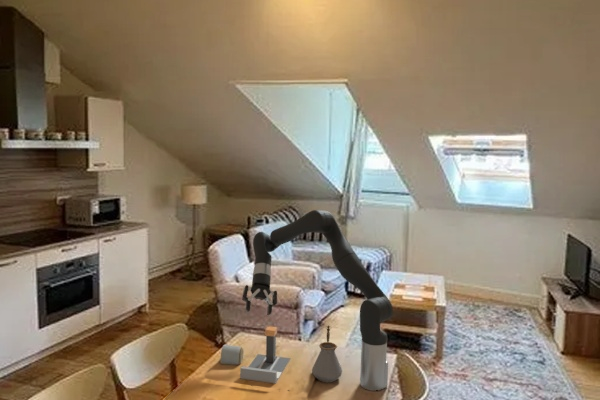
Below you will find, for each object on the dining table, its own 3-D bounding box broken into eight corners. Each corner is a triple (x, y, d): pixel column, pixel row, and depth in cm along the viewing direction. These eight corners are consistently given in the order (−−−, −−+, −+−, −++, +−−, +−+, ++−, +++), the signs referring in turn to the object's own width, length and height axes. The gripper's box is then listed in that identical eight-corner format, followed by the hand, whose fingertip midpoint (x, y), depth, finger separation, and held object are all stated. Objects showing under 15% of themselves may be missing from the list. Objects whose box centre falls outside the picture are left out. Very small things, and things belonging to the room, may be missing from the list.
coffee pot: (342, 385, 183) (343, 347, 182) (311, 384, 184) (312, 345, 182) (341, 360, 205) (342, 325, 203) (313, 359, 205) (314, 324, 204)
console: (257, 356, 206) (258, 344, 205) (290, 361, 203) (290, 348, 202) (239, 381, 185) (239, 368, 184) (275, 386, 182) (276, 373, 181)
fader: (267, 358, 202) (268, 326, 200) (276, 359, 201) (277, 327, 199) (264, 362, 198) (265, 329, 196) (273, 363, 197) (274, 330, 196)
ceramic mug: (240, 368, 195) (240, 350, 194) (220, 367, 196) (220, 349, 195) (245, 357, 206) (245, 339, 205) (225, 356, 206) (225, 338, 205)
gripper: (248, 269, 205) (244, 306, 196) (280, 275, 209) (278, 312, 200) (243, 276, 211) (239, 313, 202) (274, 282, 215) (272, 318, 206)
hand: (258, 312), depth 201 cm, fingers open, 8 cm apart
